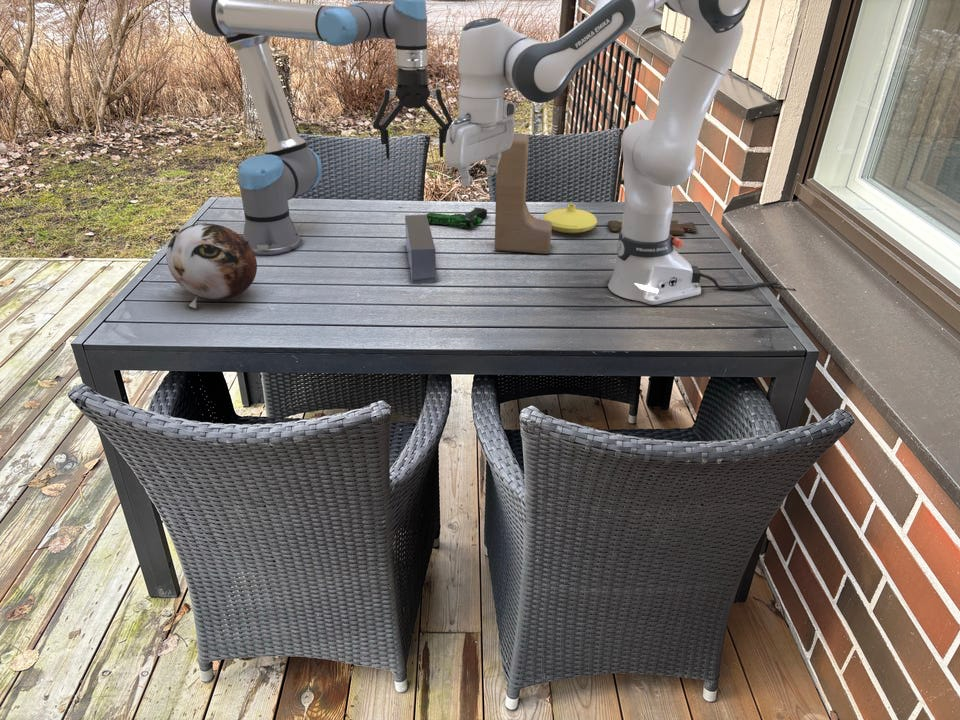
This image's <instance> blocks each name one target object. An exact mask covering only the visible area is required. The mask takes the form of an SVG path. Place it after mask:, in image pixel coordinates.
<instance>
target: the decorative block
mask: <svg viewBox="0 0 960 720" xmlns="http://www.w3.org/2000/svg"><path fill="white" fill-rule="evenodd" d="M529 137H530V136H529V135H528V134H524V133H523V134H521V133H514V138H513V143H512V146H511V148H510V149H508V150H505V151H503V152H501V159H500V161H499V164H498V168H497V174H495V176H496V179H495V213H494V216H495V218H494V251H498V252H514V253H529V254H543V255H548V254H549V253H550V250H551V243H552V230H553V229H552V223H551V222H549V221H545V220H544V219H540V218H536V217H535V216H533V215H532V214H530V211H529V208H528V204H527V181H528V161H529V143H530V142H529V141H530V138H529Z"/></svg>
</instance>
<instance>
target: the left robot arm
mask: <svg viewBox="0 0 960 720" xmlns="http://www.w3.org/2000/svg"><path fill="white" fill-rule="evenodd" d="M189 11H190V16H191V18H192V21H193V22H194V24H195V25H196V26H197V28H198V29H199V30H200V31H202V33H205V34H206V35H208V36H212V37H224V39H225V42H226V45H227V47H229V48H230V49H233V50H234V51H235V53H236V56H237V59H238V62H239V64H240V68H241V71H242V73H243V76H244V79H245V82H246V85H247V88H248V91H249V94H250V97H251V99H252V103H253V105H254V109H255V112H256V114H257V117H258V120H259V123H260V126H261V129H262V132H263V134H264V138H265V141H266V146H265V148H264V154H259V155H257V156H256V155H253V156H249V157H248V158H246V159H244V160H243V161H241V162H240V164H239V165H238V168H237V174H238V179H237V182H238V185H239V190H240V196H241V202H242V203H241V204H242V208H243V212H244V213H243V215H244V219H245V220H244V226H243V228H244V229H243V235H240V236H241V237H243V238H244V239H245V240H246V241H249V242H248V244H249V245H250V247H251V248H252V250H253V252H254V254H255V256H256V255H257V256H275V255H281V254H282V255H283V254H285V253H289V252H291V251H293V250H296V249H297V248H298V247H299V246H300V244H301V241H300V235H299V233H298V231H297V229H296V227H295V225H294V223H293V220H292V218H291V216H290V207H289V201H290V200H292V199H294V198H296V197H299V196H301V195H302V194H306V193H308V192H310V191H311V190H312V189H314V188H316V186H317V185H318V184H319V183H320V181H321V179H322V174H323V166H322V162H321V158H320V157H319V155H318V154H317V152H314V150H313V149H312V148H310V147H308V144H307V141H306V139H304V138H303V137H301V136H299V134H298V131H297V128H296V125H295V123H294V119H293V115H292V112H291V109H290V106H289V103H288V100H287V97H286V95H285V91H284V88H283V85H282V81H281V79H280V76H279V72H278V69H277V66H276V62H275V60H274V57H273V53H272V50H271V47H270V43H269V42H270V39H271V37H275V38H285V39H294V40H305V41H313V42H314V41H316V42H324V43H326V44H327V45H330V46H333V47H344V46H348V45H351V44H355V43H358V42H364V41H369V40H373V39H383V40H394V43H395V65H396V66H397V69H396V70H395V71H396V89H391V88H390V89H389V88H388V87H385V88H384V90H383V91H384V92H383V99H382V101H381V103H380V106H379V108H378V111H377V113H376V115H375V117H374V120H373V122H372V128H373V129H374V130H377V131H379V132H380V143H381V145H385V153H386V154H385V156H386V158H385V159H390V141H389V140H390V139H389V138H390V137H389V129H388V127H389V126H390V125H391V124H392V123H393V121H394V120H395V118H396V117H397V116H398V114H400V112H401V111H402V110H403V109H404V108H405V109H407V110H409V109H421V108H422V107H423V108H424V109H425V110H426V111H427V113H428V114H429V115H430V116H431V117H432V118H433V120H434V121H435V122H436V123H437V124H438V125H439V127H440V128H438V141H439V142H438V155H439V158H444V144H446V136H447V132H448V129H449V126H450V125H451V123H452V122H453V119H452V116H451V114H450V112H449V110H448V108H447V106H446V104H445V102H444V100H443V97H442V95H443V94H442V90H441V88H440V87H436V88H433V89H430V88H429V70H428V68H427V66H428V65H429V64H428V13H427V1H426V0H393V1H392V3H389V4H388V3H375V2H368V1H362V2H361V1H359V2H352V3H350V5H349V6H336V5H322V4H313V3H301V2H289V1H280V0H279V1H278V0H190V2H189ZM431 95H432V97H433V99H436V100H437V101H436V102H437V103H438V105H439V107H440V109H441V111H442V113H443V116H444V117H445V119H446V121H447V122H444V120H443V118H441V116H439V114H438V113H437V112H436V111H435V110H434V108H433V107H432V106H431V104H430V103H429V102H428V99H429V98H430V96H431ZM394 96H396V98H397V99H398V101H397V102H396V104H395V106H394V107H393V109H392V110H391V111H390V113H389V114H388V115H387V117H385V119H384V120H383V122H382V123H381V121H382V119H383V117H384V114H385V112H386V110H387V107H388V105H389V103H390V100H392V99H393V97H394ZM179 231H180V230H179V229H178V228H173V229H172V230H171V231H170V234H177V233H178V232H179Z"/></svg>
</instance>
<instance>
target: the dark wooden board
mask: <svg viewBox="0 0 960 720" xmlns="http://www.w3.org/2000/svg"><path fill="white" fill-rule="evenodd" d="M607 224H608V229H609V231H610V232H613V233H615V232H616V233H617V232H620V231H621V230H622V222H621V221H619V220H615V219H614V220H608V221H607ZM682 228H683V229H682ZM688 229H689V230H688ZM693 230H696V231H697V228H696V224H695V223H694V222H691V221H690V222H683V223H682V222H681V223H679V221H678V220H673V219H671V224H670V231H669V234H671V235H685V233H686V232H687V233H696V231H693Z"/></svg>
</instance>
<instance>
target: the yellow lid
mask: <svg viewBox="0 0 960 720" xmlns="http://www.w3.org/2000/svg"><path fill="white" fill-rule="evenodd" d="M543 220H545V221H549V222H551V223H552V230H554V231H556V232H559V233H564V234H580V233H584V232H585V233H586V232H587V231H591V230H592V229H594V228H596V226H597V223H598V219H597V217H596V215H595V214H593V213H591V212H589V211H587V210H584V209H578V208H576V205H575V204H571V203H570V204H567V208H557V209H552V210H549V211H548V212H547V213H545V214H544V216H543Z"/></svg>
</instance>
